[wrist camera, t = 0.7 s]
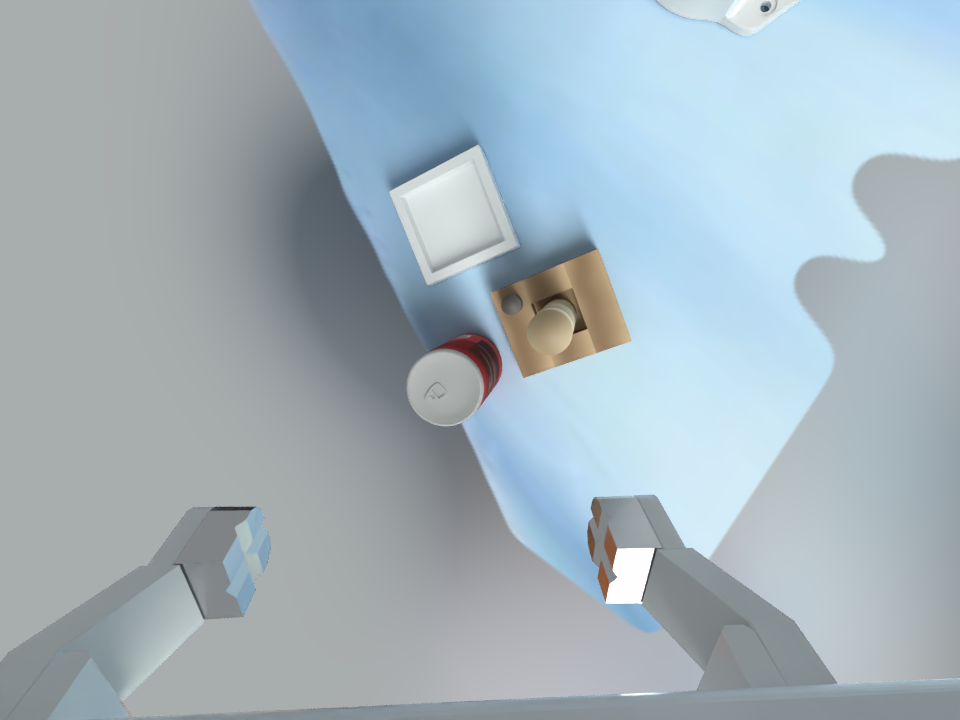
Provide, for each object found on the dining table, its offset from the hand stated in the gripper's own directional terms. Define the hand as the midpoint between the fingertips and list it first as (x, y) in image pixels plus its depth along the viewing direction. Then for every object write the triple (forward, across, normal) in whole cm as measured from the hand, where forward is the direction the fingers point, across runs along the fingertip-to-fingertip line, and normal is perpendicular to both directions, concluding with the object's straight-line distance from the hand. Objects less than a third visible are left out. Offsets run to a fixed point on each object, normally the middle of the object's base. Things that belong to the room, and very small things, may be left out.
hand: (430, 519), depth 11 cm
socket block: (+38, -12, +9) cm, 41 cm away
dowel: (+37, -12, +9) cm, 40 cm away
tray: (+44, -1, 0) cm, 44 cm away
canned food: (+39, -2, +16) cm, 42 cm away
